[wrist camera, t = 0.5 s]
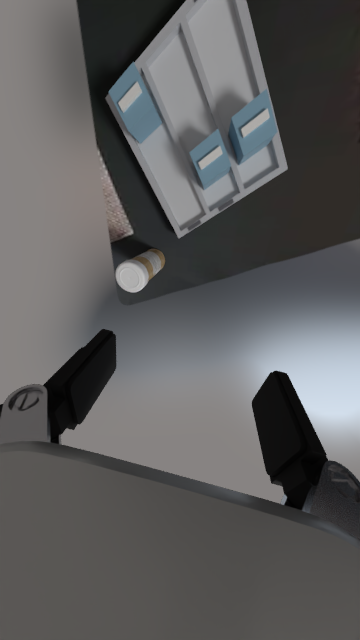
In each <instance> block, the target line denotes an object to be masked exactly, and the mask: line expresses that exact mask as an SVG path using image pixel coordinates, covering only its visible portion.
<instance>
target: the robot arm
mask: <svg viewBox="0 0 360 640" xmlns="http://www.w3.org/2000/svg"><path fill="white" fill-rule="evenodd" d="M115 369H116V336H115V334H113V332H112V331H109V330H105V329H102V330H101V331H100V332H99V333H98V334H97V335H96V336H95V337H94V338H93V339H92V340H91V341H90V342H89V343H88V344H87V345H86V346H85V347H83V348H81V349H79V350H78V351H77V352H76V353H75V354H74V355H73V356H72V357H71V358H70V359H69V360H68V361H67V362H66V363H65V364H64V365H63V366H62V367H61V368H60V369H59V370H58V371H57V372H56V373H55V374H54V375H53V376H52V377H51V378H50V379H49V380H48V381H47V382H46V383H45V384H44V385H43V386H42V385H40V384H32V385H27V386H24V387H21V388H19V389H17V390H16V391H14V392H13V393H12V394H10V395H9V396H8V398H7V399H6V400H5V402H4V404H1V405H0V640H360V482H359V481H358V479H357V478H356V477H355V476H354V475H353V474H352V473H351V472H350V471H349V470H348V469H347V468H346V467H344V466H343V465H342V464H340V463H338V462H335V461H328V459H327V458H326V453H325V451H324V449H323V447H322V444H321V442H320V440H319V438H318V436H317V435H316V432H315V430H314V428H313V426H312V424H311V422H310V420H309V418H308V416H307V414H306V412H305V410H304V408H303V405H302V404H301V401H300V399H299V397H298V395H297V393H296V391H295V389H294V387H293V385H292V383H291V381H290V379H289V377H288V375H287V374H286V373H283V372H279V371H274V372H273V373H272V372H271V373H270V374H269V376H268V377H267V379H266V380H265V382H264V383H263V385H262V386H261V388H260V390H259V391H258V393H257V394H256V396H255V397H254V399H253V401H252V408H253V412H254V417H255V422H256V427H257V431H258V436H259V441H260V445H261V450H262V454H263V459H264V464H265V468H266V472H267V474H268V475H270V479H271V483H272V484H276V485H280V486H283V490H284V496H283V498H282V501H281V503H280V504H279V503H275V502H272V501H269V500H265V499H262V498H258V497H254V496H251V495H248V494H244V493H240V492H237V491H233V490H229V489H226V488H222V487H219V486H215V485H212V484H208V483H205V482H200V481H197V480H193V479H190V478H186V477H182V476H179V475H175V474H172V473H168V472H164V471H161V470H157V469H153V468H150V467H146V466H142V465H139V464H135V463H131V462H127V461H124V460H120V459H116V458H113V457H109V456H104V455H101V454H98V453H94V452H90V451H85V450H81V449H77V448H73V447H69V446H65V445H61V434H62V433H63V432H64V430H65V429H66V428H68V429H72V430H74V429H75V427H76V426H77V424H81V423H82V421H83V420H84V419H85V417H86V415H87V414H88V412H89V411H90V409H91V408H92V406H93V404H94V403H95V401H96V400H97V398H98V396H99V395H100V393H101V392H102V390H103V389H104V387H105V385H106V384H107V382H108V381H109V379H110V378H111V376H112V374H113V373H114V371H115Z"/></svg>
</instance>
